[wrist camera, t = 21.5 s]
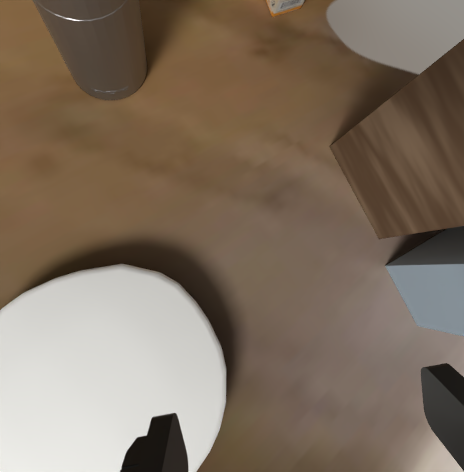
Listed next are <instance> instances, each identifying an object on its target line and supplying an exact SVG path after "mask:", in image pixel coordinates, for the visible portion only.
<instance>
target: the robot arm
mask: <svg viewBox="0 0 464 472" xmlns="http://www.w3.org/2000/svg"><path fill="white" fill-rule="evenodd" d="M33 2H34V4H35V6H36V8H37V10H38V11H39V13H40V15H41V17H42V19H43V21H44V23H45V25H46V27H47V29H48V31H49V32H50V34H51V36H52V38H53V40H54V42H55V44H56V46H57V48H58V50H59V51H60V53H61V55H62V57H63V59H64V61H65V63H66V65H67V67H68V69H69V71H70V73H71V75H72V76H73V78H74V80H75V81H76V83H77V84H78V85H79V86H80V88H81V89H82V90H84V91H85V92H86V93H88V94H89V95H91V96H94V97H96V98H99V99H104V100H118V99H122V98H125V97H128V96H130V95H131V94H133V93H134V92H136V91H137V90H138V89H139V88H140V87H141V85H142V83H143V82H144V80H145V77H146V74H147V60H146V52H145V43H144V35H143V28H142V20H141V13H140V5H139V0H33ZM421 382H422V393H423V404H424V412H425V416H426V418H427V421H428V423H429V425H430V427H431V429H432V430H433V432H434V433H435V434H436V436H437V437H438V438H439V440H440V441H441V442H442V443H443V445H444V446H445V447H446V449H447V450H448V451H449V452H450V454H451V455H452V456H453V458H454V459H455V460H456V461H457V463H458V464H459V465H460V467H461V468H462V469H463V470H464V377H463V376H462V375H460V374H459V373H458V372H457V371H456V370H455V369H454V368H453V367H452V366H450V365H449V364H447V363H445V364H440V365H434V366H429V367H423V368H422V369H421ZM121 467H122V469H121V470H120V472H188V456H187V451H186V447H185V443H184V439H183V435H182V431H181V427H180V424H179V420H178V416H177V414H176V413H171V414H165V415H160V416H154V417H152V419H151V422H150V426H149V429H148V433H147V436H141V437H137V438H136V440H135V441H134V442H133V444H132V445H131V446H130V447H129V449H128V450H127V451H126V454H125V457H124V460H123V463H122V466H121Z"/></svg>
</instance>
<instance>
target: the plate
mask: <svg viewBox="0 0 464 472" xmlns="http://www.w3.org/2000/svg"><path fill="white" fill-rule="evenodd" d="M225 404H226V365H225V360H224V355H223V351H222V347H221V345H220V343H219V340H218V338H217V336H216V334H215V332H214V330H213V328H212V326H211V324H210V322H209V320H208V318H207V317H206V315H205V314H204V312H203V311H202V309H201V308H200V306H199V305H198V303H197V302H196V301H195V300H194V299H193V298H192V297H191V296H190V295H189V293H188V292H187V291H186V290H185V289H184V288H183V287H182V286H181V285H180V284H179V283H178V282H176V281H174V280H173V279H171V278H169V277H167V276H166V275H164V274H162V273H160V272H157V271H153V270H148V269H144V268H139V267H135V266H131V265H126V264H117V265H111V266H105V267H99V268H93V269H87V270H81V271H77V272H73V273H70V274H67V275H64V276H60V277H57V278H55V279H52V280H50V281H48V282H46V283H44V284H41V285H39V286H37V287H35V288H32V289H30V290H28V291H26V292H24V293H22V294H21V295H20V296H18V297H17V298H16V299H14V300H13V301H11V302H10V303H9V304H7V305H6V306H5V307H3V308H2V309H1V310H0V472H120V470H121V469H122V467H121V466H122V463H123V460H124V457H125V454H126V451H127V450H128V449H129V447H130V446H131V445H132V444H133V442H134V441H135V440H136V438H137V437H141V436H147V433H148V429H149V426H150V422H151V419H152V417H154V416H160V415H165V414H171V413H176V414H177V416H178V420H179V424H180V427H181V431H182V435H183V439H184V443H185V447H186V451H187V456H188V472H196V471H197V470H198V468H199V467H200V465H201V464H202V462H203V461H204V459H205V458H206V456H207V455H208V454H209V452H210V450H211V448H212V446H213V443H214V441H215V439H216V436H217V434H218V432H219V430H220V426H221V421H222V417H223V413H224V409H225Z"/></svg>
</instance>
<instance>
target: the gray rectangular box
mask: <svg viewBox="0 0 464 472" xmlns="http://www.w3.org/2000/svg"><path fill="white" fill-rule="evenodd" d="M386 268H387V270H388V272H389V274H390V276H391V277H392V279H393V281H394V283H395V285H396V287H397V289H398V291H399V292H400V294H401V296H402V298H403V300H404V302H405V304H406V305H407V307H408V309H409V311H410V313H411V315H412V317H413V319H414V320H415V322H416V324H417V326H420V327H425V328H429V329H433V330H438V331H442V332H447V333H451V334H455V335H460V336H464V226H459V227H453V228H447V229H446V230H444V231H442V232H441V233H439V234H437V235H436V236H434V237H432V238H431V239H429V240H427V241H426V242H424V243H422V244H421V245H419V246H417V247H416V248H414V249H412V250H411V251H409V252H407V253H406V254H404V255H402V256H401V257H399V258H397V259H396V260H394V261H392V262H391V263H389V264H387V265H386Z"/></svg>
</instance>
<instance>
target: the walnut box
mask: <svg viewBox="0 0 464 472" xmlns="http://www.w3.org/2000/svg"><path fill="white" fill-rule="evenodd" d="M330 149H331V150H332V152H333V154H334V156H335V158H336V160H337V162H338V163H339V165H340V167H341V169H342V171H343V173H344V175H345V177H346V178H347V180H348V182H349V184H350V186H351V188H352V190H353V191H354V193H355V195H356V197H357V199H358V201H359V203H360V205H361V206H362V208H363V210H364V212H365V214H366V216H367V218H368V219H369V221H370V223H371V225H372V227H373V229H374V231H375V233H376V234H377V236H378V238H379V239H382V238H389V237H395V236H402V235H408V234H414V233H421V232H427V231H434V230H440V229H447V228H453V227H459V226H464V39H463V40H462V41H461V42H459V43H458V44H457V45H456V46H454V47H453V48H452V49H451V50H450V51H448V52H447V53H446V54H444V55H443V56H442V57H441V58H439V59H438V60H437V61H436V62H434V63H433V64H432V65H431V66H429V67H428V68H427V69H426V70H424V71H423V72H422V73H421V74H419V75H418V76H417V77H416V78H414V79H413V80H412V81H411V82H410V83H408V84H407V85H406V86H405V87H403V88H402V89H401V90H400V91H398V92H397V93H396V94H395V95H393V96H392V97H391V98H390V99H388V100H387V101H386V102H385V103H383V104H382V105H381V106H380V107H378V108H377V109H376V110H375V111H373V112H372V113H371V114H370V115H368V116H367V117H366V118H365V119H363V120H362V121H361V122H360V123H358V124H357V125H356V126H355V127H353V128H352V129H351V130H350V131H348V132H347V133H346V134H345V135H343V136H342V137H341V138H340V139H338V140H337V141H336V142H335V143H333V144H332V145H331V146H330Z"/></svg>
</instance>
